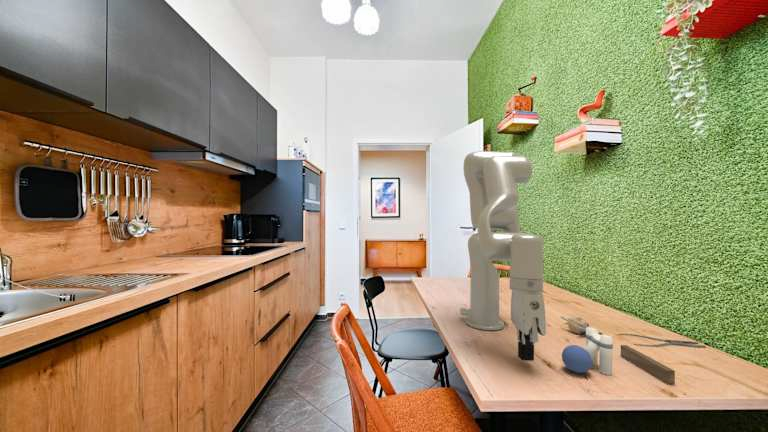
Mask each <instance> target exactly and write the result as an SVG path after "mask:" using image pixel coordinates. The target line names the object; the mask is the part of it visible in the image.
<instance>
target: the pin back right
mask: <svg viewBox="0 0 768 432" xmlns="http://www.w3.org/2000/svg"><path fill="white" fill-rule="evenodd" d="M599 346H600V349H599V360H598V362H599V366H598V368H599V369H598V371H599V373H600V372H601V373H600V374H602V373H603V374H602V375H605V374H606V375H605V376H612V375H613V337H612V336H611V335H608V334H603V335H600V342H599ZM611 374H612V375H611Z"/></svg>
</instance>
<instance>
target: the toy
mask: <svg viewBox="0 0 768 432" xmlns="http://www.w3.org/2000/svg"><path fill="white" fill-rule="evenodd" d="M560 318H561V319H562V320H564V321H566V322H567V323H568V324H567V325H568V328H569V330H570V331H571V332H573V333H575V334H576V333H577V334H576V335H580V334H582V333H583V334H584V335H586V328H587V327H590V324H589V323H587V322H586V321H584V320H583V319H582V318H581V317H579V316H573V317H569V316H568V317H565V316H563V315H560ZM598 334H600V335H604V333H602V332H601V331H598Z"/></svg>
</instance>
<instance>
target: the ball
mask: <svg viewBox="0 0 768 432" xmlns="http://www.w3.org/2000/svg"><path fill="white" fill-rule="evenodd" d="M561 359H562V362H563V364H564V366H565V367H566V368H567V369H569V370H570V371H571V372H572V373H573V372H574V373H577V374H584V373H587V372H588V371H590V370H591V368H592V366H593V365H592V359H591V356H590V354H589V353H588V352H587V351H586V350H585V347H582V346H579V345H575V344H571V345H568V346H565V348H563V350H562V352H561Z"/></svg>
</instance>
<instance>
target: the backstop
mask: <svg viewBox="0 0 768 432" xmlns="http://www.w3.org/2000/svg"><path fill="white" fill-rule="evenodd" d="M621 356H622V357H621ZM620 357H621V358H622V359H624V358H625V360H626V361H628V362H629V361H630V362H629V363H631V364H633V365H634V364H635V365H634V366H635V367H637V368H639V367H640V369H641V368H642V369H641V370H642V371H644V370H645V371H644V372H646V373H648V374H649V373H650V375H651V376H652V377H654V376H655V377H654V378H656V377H657V378H656V379H657V380H659V379H660V380H659V381H661V380H662V381H661V382H663V383H664V382H665V384H666V383H667V384H666V385H668V384H675V385H676V377H675V376H676V375H675V374H676V373H675V371H676V370H674V369H672V368H670V367H668V366H666V365H665V364H663V363H660V362H659V361H657V360H655V359H653V358H652V357H650V356H647V355H645V354H644V353H643V352H640V351H638V350H637V349H634V348H633V347H631V346H629V345H627V344H620Z"/></svg>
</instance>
